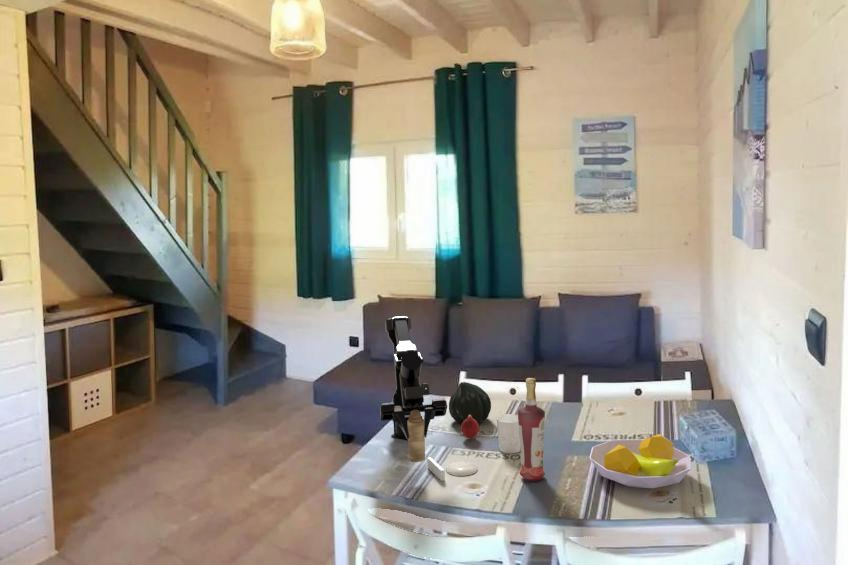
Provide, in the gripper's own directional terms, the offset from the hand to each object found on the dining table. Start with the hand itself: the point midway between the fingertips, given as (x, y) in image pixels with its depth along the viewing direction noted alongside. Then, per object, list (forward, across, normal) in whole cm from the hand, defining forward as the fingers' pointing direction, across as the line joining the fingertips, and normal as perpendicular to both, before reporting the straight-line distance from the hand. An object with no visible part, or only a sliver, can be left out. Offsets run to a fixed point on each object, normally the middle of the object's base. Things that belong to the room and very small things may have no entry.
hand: (416, 437), depth 179 cm
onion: (-10, +20, +28) cm, 36 cm away
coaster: (+6, +13, +12) cm, 19 cm away
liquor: (+12, +31, +5) cm, 34 cm away
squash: (-22, +24, +40) cm, 52 cm away
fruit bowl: (+17, +59, 0) cm, 62 cm away
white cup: (-2, +31, +20) cm, 37 cm away
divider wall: (+6, +6, +11) cm, 14 cm away
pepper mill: (+4, 0, +6) cm, 7 cm away
